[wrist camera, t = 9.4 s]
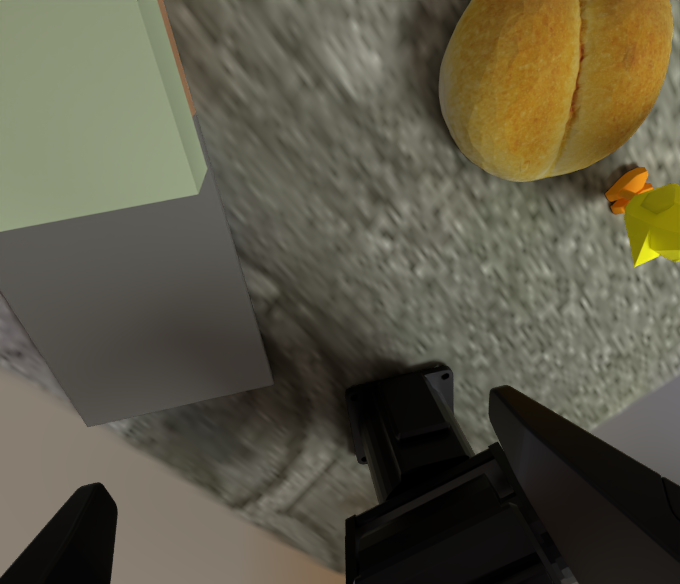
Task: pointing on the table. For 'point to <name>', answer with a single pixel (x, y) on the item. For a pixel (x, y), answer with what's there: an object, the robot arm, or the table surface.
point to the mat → (138, 305)
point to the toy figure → (648, 216)
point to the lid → (90, 111)
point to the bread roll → (552, 81)
